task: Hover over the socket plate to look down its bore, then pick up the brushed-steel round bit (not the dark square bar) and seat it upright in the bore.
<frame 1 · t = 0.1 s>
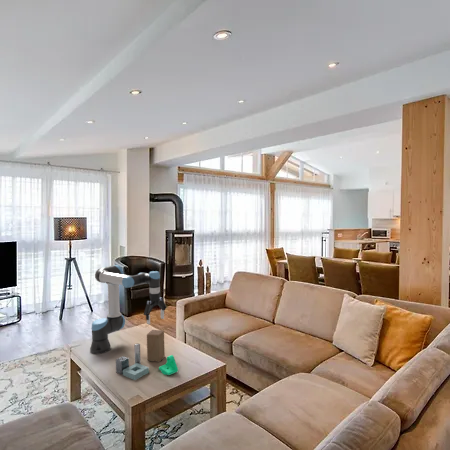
hand: (155, 321, 238), 28 cm above the table, fingers open, 13 cm apart
socket plate: (135, 373, 217), on the table
square bit: (122, 371, 221), on the table
round bit: (137, 364, 231), on the table
camera mount: (168, 372, 220), on the table
wooden block: (156, 359, 239), on the table
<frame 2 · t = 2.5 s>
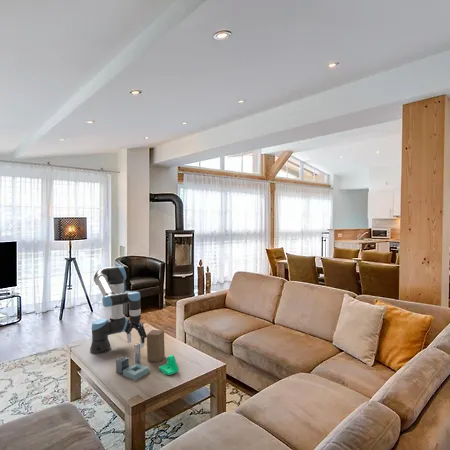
hand: (135, 345, 223), 17 cm above the table, fingers open, 13 cm apart
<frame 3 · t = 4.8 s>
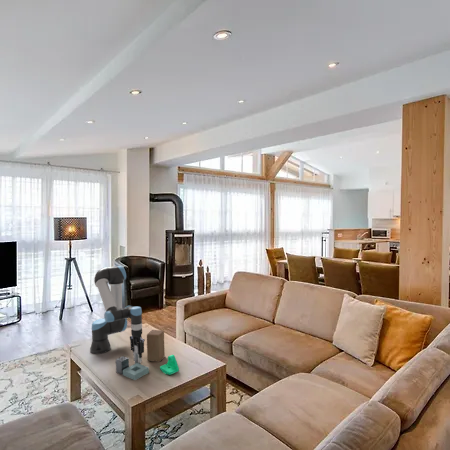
hand: (137, 361, 231), 2 cm above the table, fingers closed on round bit, 4 cm apart
round bit: (137, 363, 231), on the table, touching gripper
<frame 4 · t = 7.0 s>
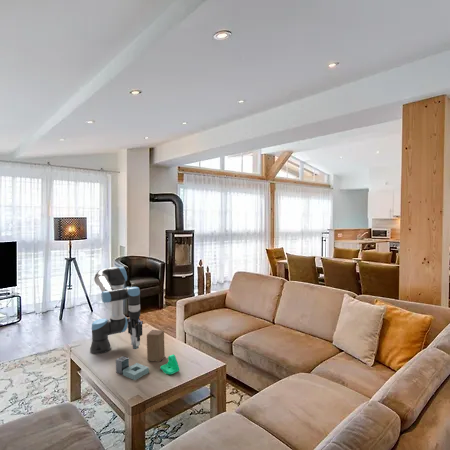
hand: (135, 344, 218), 19 cm above the table, fingers closed on round bit, 4 cm apart
round bit: (135, 348, 218), point 17 cm above the table, touching gripper
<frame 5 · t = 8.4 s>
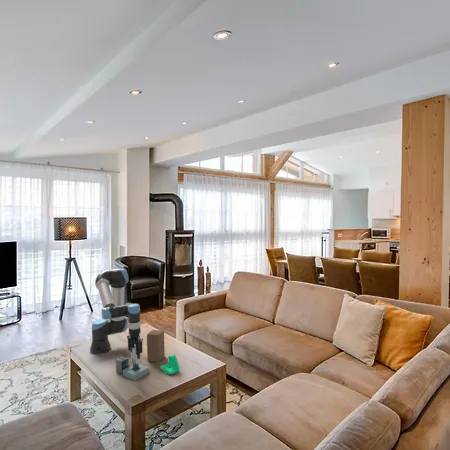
hand: (135, 362, 217), 8 cm above the table, fingers closed on round bit, 4 cm apart
round bit: (135, 367, 217), point 4 cm above the table, touching gripper
when the fingers open (5 cm above the table, at t = 9.2 s): round bit stays where it is, resting on socket plate.
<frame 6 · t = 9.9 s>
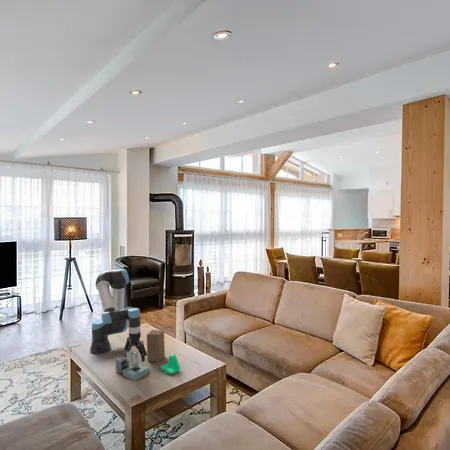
hand: (135, 363, 217), 7 cm above the table, fingers open, 13 cm apart
square bit: (122, 371, 221), on the table, touching gripper
round bit: (135, 373, 217), resting on socket plate
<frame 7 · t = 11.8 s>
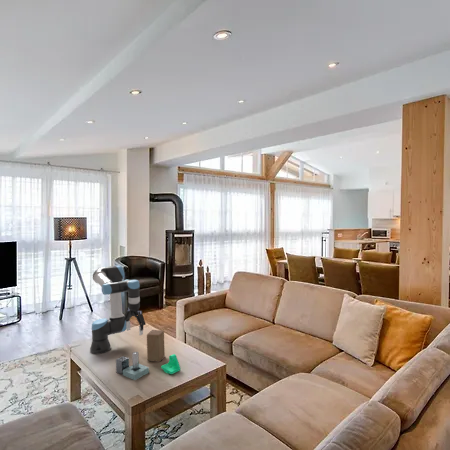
hand: (134, 332, 226), 24 cm above the table, fingers open, 13 cm apart
square bit: (122, 371, 221), on the table
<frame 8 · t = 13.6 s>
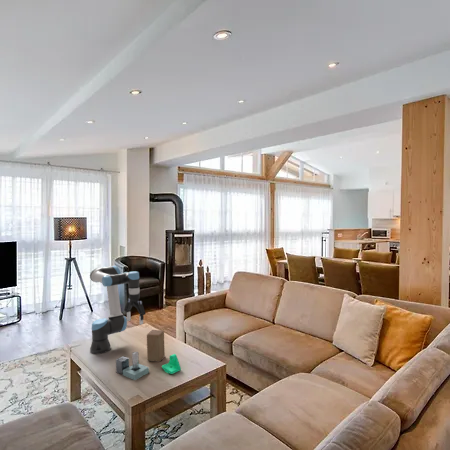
hand: (135, 322, 234), 29 cm above the table, fingers open, 13 cm apart
at the end: round bit 0.1 cm off-centre on the socket plate, point 0.2 cm above the socket plate's base; round bit tilted 1°; the gripper is holding nothing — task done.
